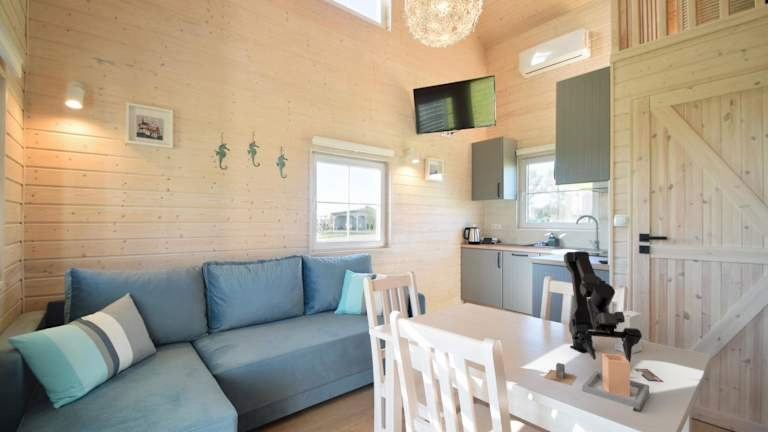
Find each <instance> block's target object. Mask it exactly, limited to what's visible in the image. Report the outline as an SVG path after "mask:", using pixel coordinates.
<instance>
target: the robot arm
mask: <svg viewBox="0 0 768 432" xmlns="http://www.w3.org/2000/svg"><path fill="white" fill-rule="evenodd" d="M563 262H564V263H565V268H566V269H567V271H569V273H570V274H571V283H572V291H573V292H572V293H573V299H574V311H573V312H572V314H571V318H570V322H569V325H568V330H569V333H570V335H571V339H572V345H569V348H571V349H573V350H575V351H578V352H579V353H581V354H585V353H588V354H589V355H590V356H591V358H592V359H593V360H594V361H596V360H597V359H596V358H597V356H596V349H594V345H593V337H600V338H612V339H613V338H614V339H615V338H621V339H622V341H623V344H622V345H623V349H624V352H625V353H624V352H623V353H624V357H625V358H626V359H627V360H628V361H629V362H630V363H631V358H632V354H631V350H632V346H634V344H638V342H639V341H640V339H641V337H642V338H643V333H642V334H641V331H640V330H639V329H637V328H624V330H623V332H618V331H615V329H616V328H617V326H616V325H619V323H623V322H625V318H624V315H623V312H621V311H615V312H614V313H612V312H610V310H609V306H610V305H611V303H612V301H613V299H614V296H615V294H616V290H615V288H614V287H613V286H611V284H609V283H606V281H605V280H603V279H602V278H601V277H599V276H597V275H596V272H595V271H594V268H593V265H592V263H591V260H590V254H589V252H588V251H585V250H584V251H580V250H579V251H577V250H576V251H567V252H566V253H564V255H563ZM588 298H589V299H588Z"/></svg>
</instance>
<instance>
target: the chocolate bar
mask: <svg viewBox="0 0 768 432" xmlns="http://www.w3.org/2000/svg"><path fill="white" fill-rule="evenodd" d="M633 370H635V371H636V372H638V373H642V374H641V376H642V377H643V378H644V379H645V380H647V381H648V382H659V383H664V380H662V379H661V378H659V376H657V375H655V374H654V373H653V372H651V370H649V369H648V368H633Z"/></svg>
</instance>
